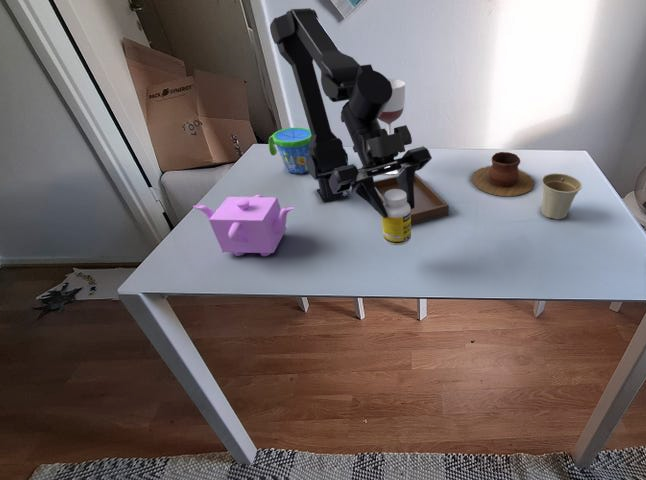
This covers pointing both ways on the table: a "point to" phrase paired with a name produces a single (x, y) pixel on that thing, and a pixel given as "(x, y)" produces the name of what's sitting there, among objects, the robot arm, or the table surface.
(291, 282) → the table surface
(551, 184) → the flower pot
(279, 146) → the snack cup
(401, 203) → the supplement bottle
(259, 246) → the teapot
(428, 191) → the tray
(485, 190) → the ceramic pot
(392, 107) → the wineglass
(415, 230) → the table surface
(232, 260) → the table surface
